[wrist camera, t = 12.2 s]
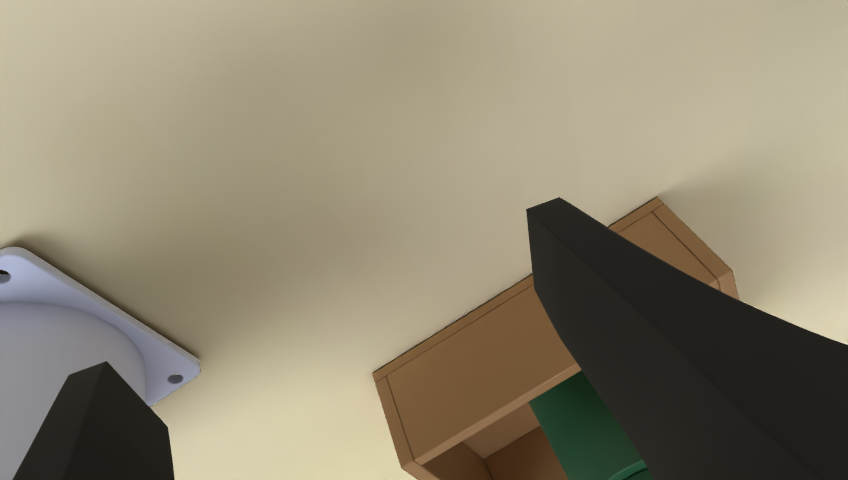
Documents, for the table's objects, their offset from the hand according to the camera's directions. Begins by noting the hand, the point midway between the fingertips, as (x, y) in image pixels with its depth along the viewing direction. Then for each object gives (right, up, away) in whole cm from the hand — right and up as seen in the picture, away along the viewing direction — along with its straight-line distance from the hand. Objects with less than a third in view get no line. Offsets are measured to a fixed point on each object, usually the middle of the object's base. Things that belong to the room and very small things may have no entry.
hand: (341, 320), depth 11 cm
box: (+8, -4, +19) cm, 21 cm away
